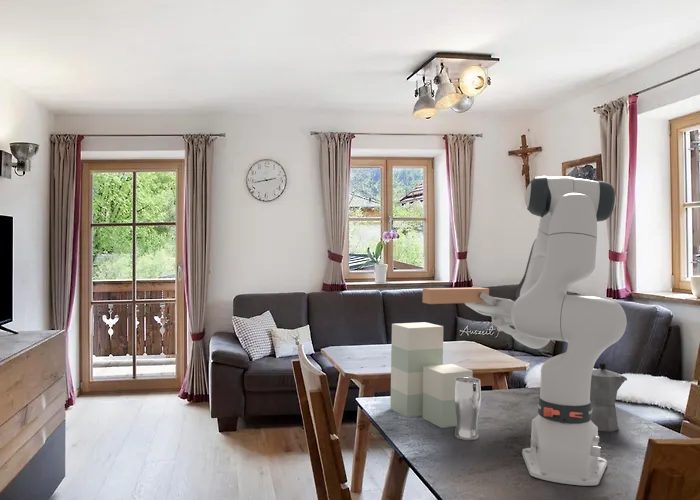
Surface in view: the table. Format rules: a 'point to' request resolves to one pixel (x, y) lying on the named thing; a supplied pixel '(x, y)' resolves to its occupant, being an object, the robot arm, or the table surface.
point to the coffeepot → (604, 398)
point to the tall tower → (412, 363)
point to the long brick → (453, 295)
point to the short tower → (441, 393)
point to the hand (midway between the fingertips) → (474, 293)
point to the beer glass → (467, 407)
